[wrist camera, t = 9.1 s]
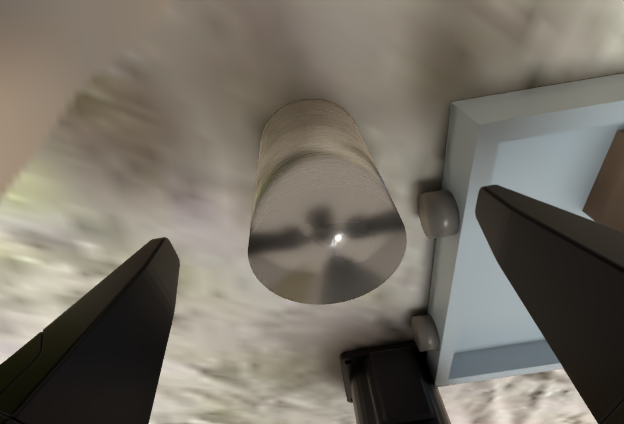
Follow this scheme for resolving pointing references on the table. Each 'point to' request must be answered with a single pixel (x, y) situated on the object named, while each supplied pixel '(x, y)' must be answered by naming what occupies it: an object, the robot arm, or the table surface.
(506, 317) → the cart
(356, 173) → the shiny metal cylinder
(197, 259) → the table surface
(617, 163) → the walnut block
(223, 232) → the table surface
